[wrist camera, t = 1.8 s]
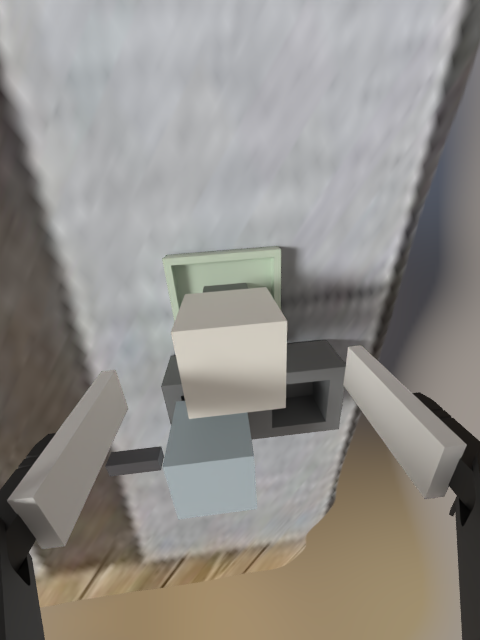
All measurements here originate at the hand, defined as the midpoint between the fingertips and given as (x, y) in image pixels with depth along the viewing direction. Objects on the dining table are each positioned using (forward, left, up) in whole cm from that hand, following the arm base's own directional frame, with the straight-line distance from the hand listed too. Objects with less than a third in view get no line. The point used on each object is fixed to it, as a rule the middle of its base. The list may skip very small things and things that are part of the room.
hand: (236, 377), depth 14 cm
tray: (0, 0, -12) cm, 12 cm away
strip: (+9, 0, -12) cm, 15 cm away
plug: (0, 0, -11) cm, 11 cm away
